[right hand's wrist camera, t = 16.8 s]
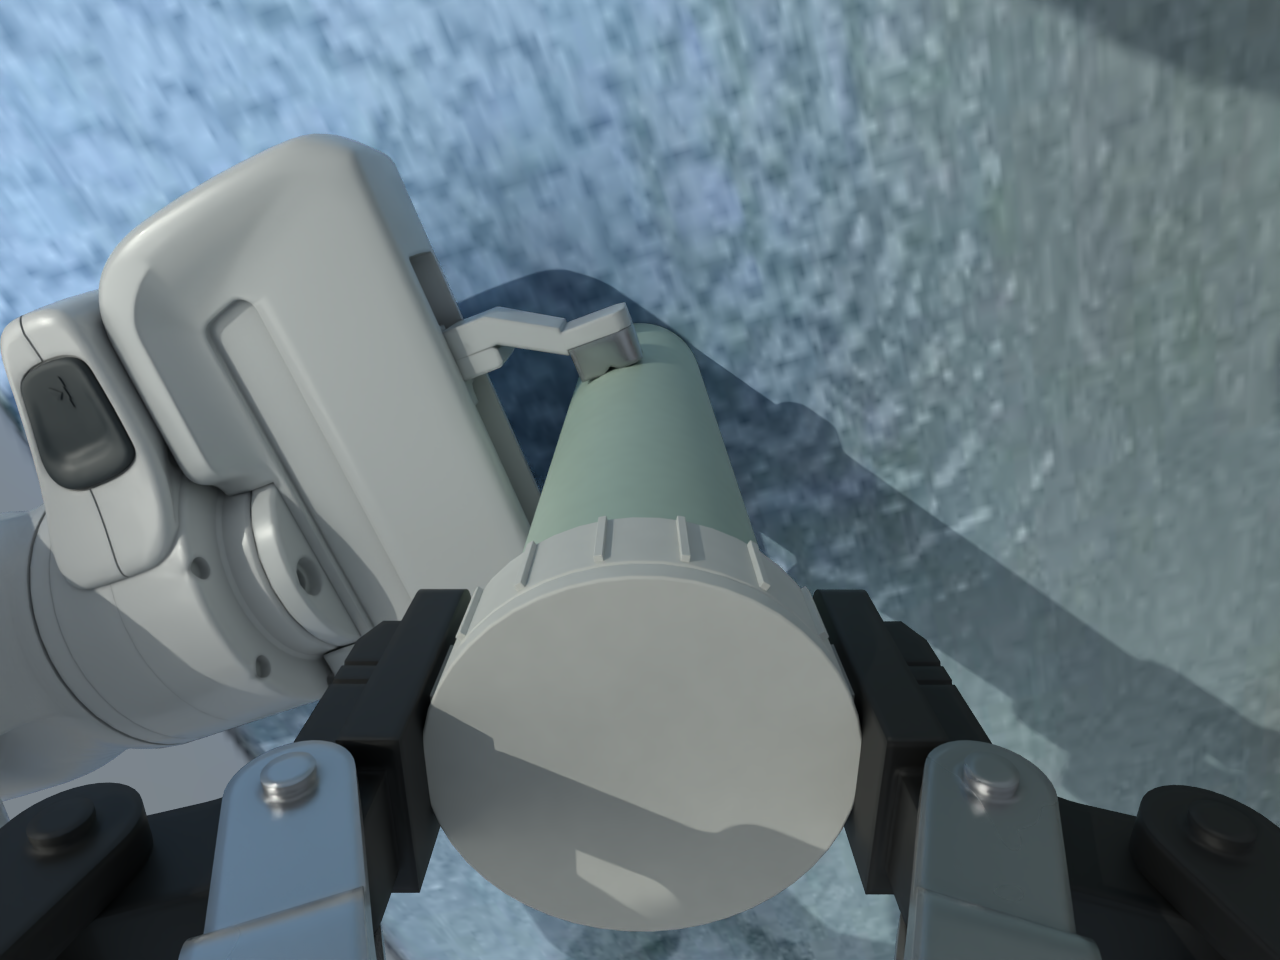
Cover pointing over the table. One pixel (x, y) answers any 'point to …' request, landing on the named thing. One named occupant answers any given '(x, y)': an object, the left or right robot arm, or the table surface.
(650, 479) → the pale green tall cylinder
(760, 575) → the lid
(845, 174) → the table surface
